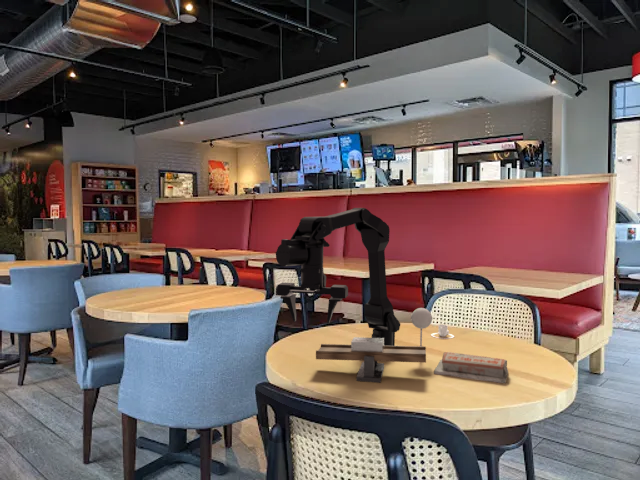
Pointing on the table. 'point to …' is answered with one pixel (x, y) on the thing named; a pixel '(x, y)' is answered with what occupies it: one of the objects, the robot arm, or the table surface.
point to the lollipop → (421, 320)
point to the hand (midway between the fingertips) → (311, 322)
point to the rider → (367, 344)
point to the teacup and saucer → (443, 331)
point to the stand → (370, 370)
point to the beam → (373, 353)
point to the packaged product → (473, 367)
